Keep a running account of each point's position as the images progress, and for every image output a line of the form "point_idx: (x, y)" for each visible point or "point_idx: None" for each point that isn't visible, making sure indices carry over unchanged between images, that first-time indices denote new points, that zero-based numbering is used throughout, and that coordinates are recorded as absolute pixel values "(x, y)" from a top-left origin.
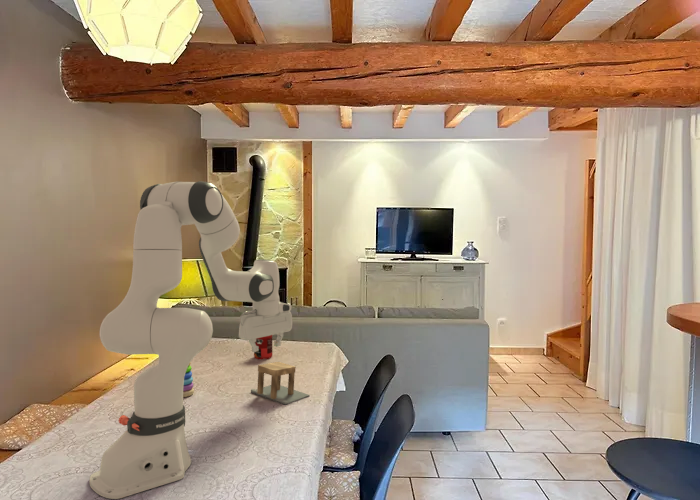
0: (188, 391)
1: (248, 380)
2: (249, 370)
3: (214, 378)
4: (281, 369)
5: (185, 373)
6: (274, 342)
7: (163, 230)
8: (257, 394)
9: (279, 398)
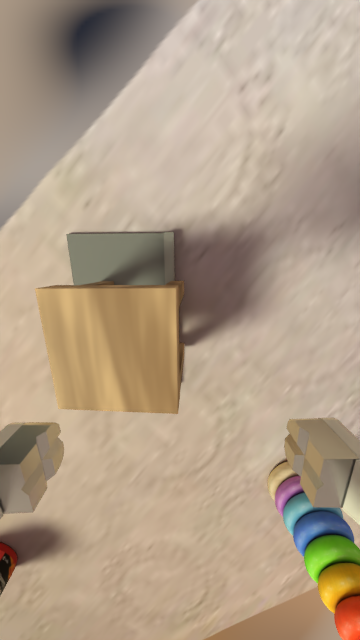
0: None
1: (125, 454)
2: (79, 505)
3: (176, 511)
4: (132, 288)
5: (335, 533)
6: (42, 488)
7: None
8: None
9: (165, 272)
